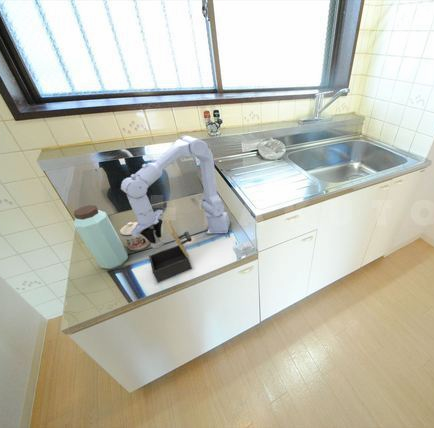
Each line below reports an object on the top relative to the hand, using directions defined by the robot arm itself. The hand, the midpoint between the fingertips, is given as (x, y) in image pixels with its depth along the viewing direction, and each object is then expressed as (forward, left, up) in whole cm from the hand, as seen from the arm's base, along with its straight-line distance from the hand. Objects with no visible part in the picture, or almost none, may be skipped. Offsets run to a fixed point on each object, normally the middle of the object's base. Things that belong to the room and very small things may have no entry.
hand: (155, 239), depth 90 cm
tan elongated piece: (-10, +3, +2) cm, 10 cm away
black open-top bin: (-6, +6, -10) cm, 13 cm away
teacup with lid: (+13, -10, -10) cm, 19 cm away
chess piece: (0, 0, -3) cm, 3 cm away
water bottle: (+19, +1, -10) cm, 21 cm away
